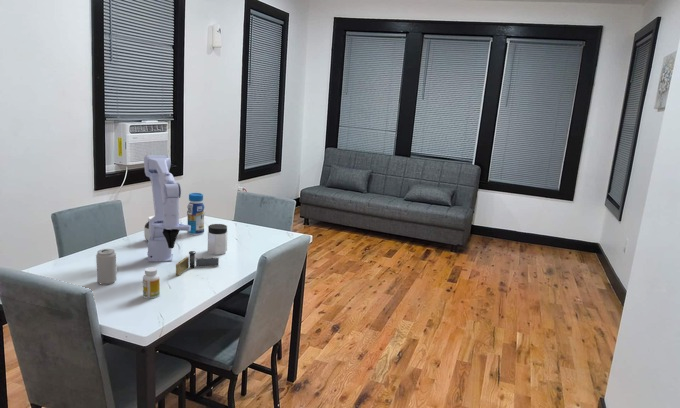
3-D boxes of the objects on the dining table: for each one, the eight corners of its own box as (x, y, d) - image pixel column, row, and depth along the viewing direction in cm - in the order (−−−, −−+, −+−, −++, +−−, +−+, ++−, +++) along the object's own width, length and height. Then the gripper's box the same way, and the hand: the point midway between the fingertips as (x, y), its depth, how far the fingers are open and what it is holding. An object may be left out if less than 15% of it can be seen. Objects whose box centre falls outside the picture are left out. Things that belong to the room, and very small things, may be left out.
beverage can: (111, 277, 182) (110, 247, 179) (119, 282, 178) (118, 251, 175) (94, 281, 177) (92, 250, 174) (102, 286, 173) (101, 255, 170)
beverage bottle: (186, 230, 246) (187, 192, 242) (204, 230, 249) (204, 192, 244) (187, 235, 238) (187, 195, 234) (204, 235, 241) (205, 196, 237)
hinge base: (188, 268, 196) (188, 253, 194) (188, 266, 199) (188, 250, 197) (218, 267, 199) (219, 252, 198) (218, 265, 202) (218, 250, 201)
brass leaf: (186, 267, 196) (186, 256, 195) (188, 267, 196) (188, 256, 195) (175, 275, 187) (175, 263, 186) (178, 275, 187) (178, 264, 186)
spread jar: (141, 241, 224) (141, 217, 222) (158, 235, 235) (157, 212, 232) (163, 246, 221) (163, 221, 218) (178, 239, 231) (178, 216, 229)
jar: (210, 255, 213) (211, 229, 210) (204, 250, 219) (205, 224, 217) (230, 253, 218) (230, 227, 215) (223, 247, 224) (224, 223, 221)
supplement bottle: (161, 292, 172) (161, 267, 170) (156, 299, 167) (156, 272, 164) (146, 291, 172) (146, 266, 169) (140, 298, 166) (140, 271, 164)
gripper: (148, 215, 182) (149, 249, 185) (187, 217, 183) (187, 251, 186) (154, 211, 189) (155, 244, 192) (192, 213, 190) (192, 246, 193)
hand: (171, 247), depth 190 cm, fingers closed
